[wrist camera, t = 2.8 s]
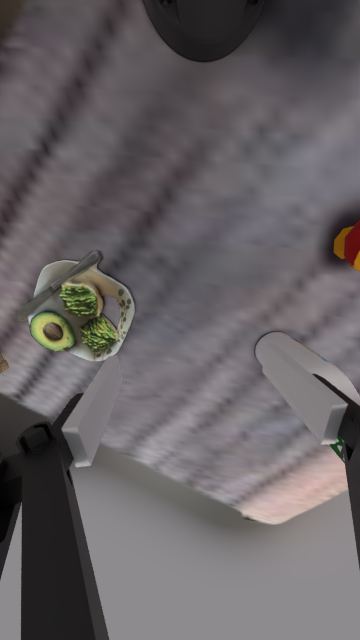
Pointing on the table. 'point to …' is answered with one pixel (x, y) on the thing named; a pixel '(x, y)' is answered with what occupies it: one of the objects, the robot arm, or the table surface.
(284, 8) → the table surface
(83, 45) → the table surface
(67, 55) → the table surface
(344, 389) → the milk bottle
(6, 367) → the stop rail
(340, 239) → the potion bottle
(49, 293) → the salad plate
